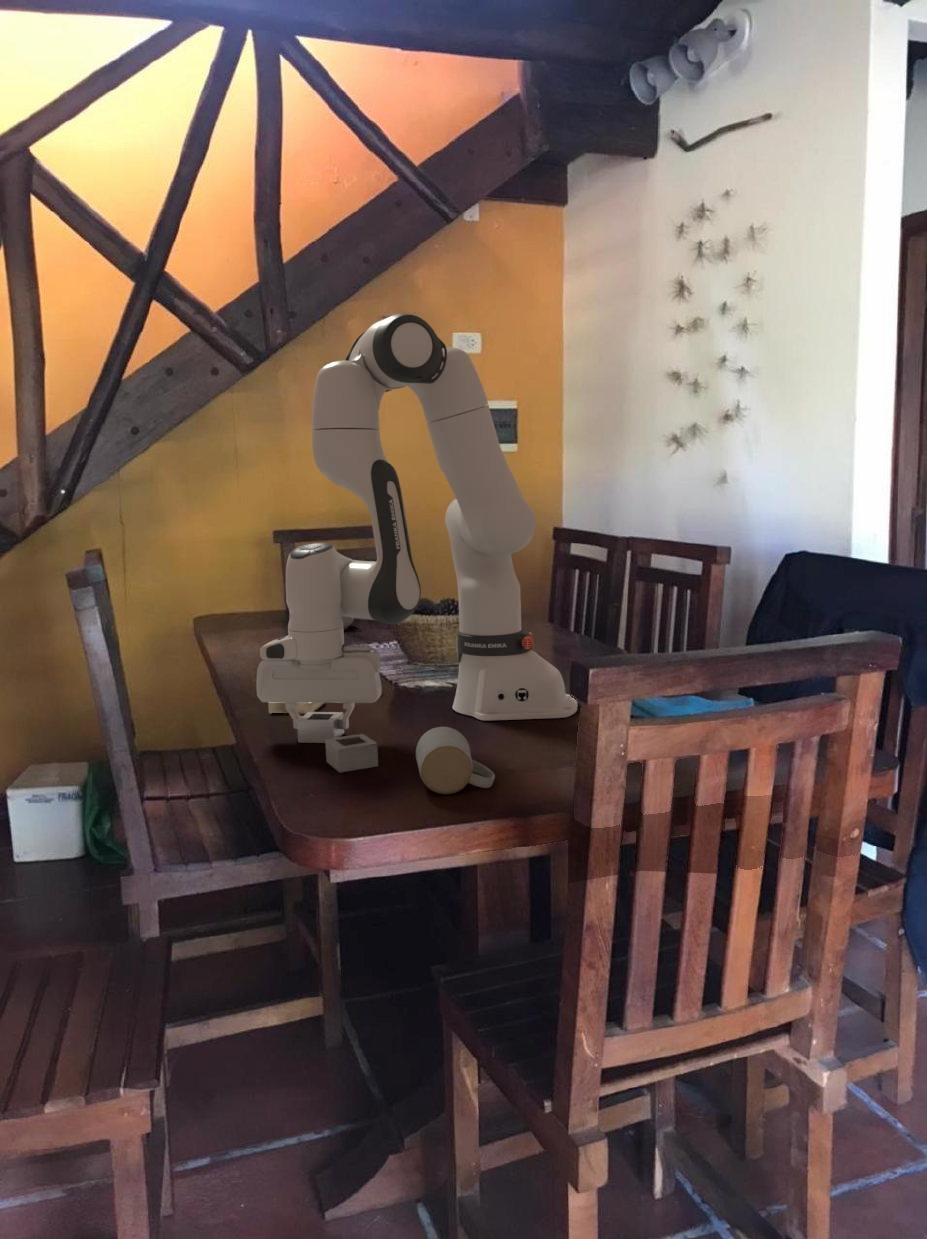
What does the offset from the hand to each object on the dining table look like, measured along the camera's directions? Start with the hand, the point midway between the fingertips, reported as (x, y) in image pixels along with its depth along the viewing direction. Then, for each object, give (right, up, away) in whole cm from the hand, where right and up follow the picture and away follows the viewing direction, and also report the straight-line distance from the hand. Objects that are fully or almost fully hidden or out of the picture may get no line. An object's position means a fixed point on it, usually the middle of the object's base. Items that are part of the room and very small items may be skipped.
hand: (321, 728), depth 158 cm
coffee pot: (-10, +14, +102) cm, 103 cm away
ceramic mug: (+22, -6, -25) cm, 34 cm away
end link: (0, -2, 0) cm, 2 cm away
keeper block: (-7, +1, +20) cm, 22 cm away
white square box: (+7, -4, -14) cm, 16 cm away
